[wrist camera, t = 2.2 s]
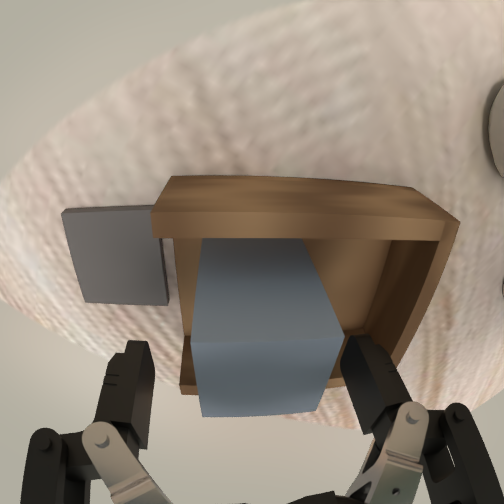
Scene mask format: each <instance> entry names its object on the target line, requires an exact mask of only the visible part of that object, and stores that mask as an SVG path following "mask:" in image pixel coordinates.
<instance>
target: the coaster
mask: <svg viewBox="0 0 504 504" xmlns="http://www.w3.org/2000/svg"><path fill="white" fill-rule="evenodd" d="M153 207H154V205H148V206H118V207H95V208H77V209H65V210H64V211H63V212H62V213H61V216H62V221H63V225H64V229H65V234H66V238H67V242H68V246H69V250H70V254H71V257H72V261H73V265H74V268H75V272H76V275H77V278H78V282H79V285H80V288H81V291H82V294H83V297H84V300H85V302H86V303H104V304H126V305H155V306H168V303H169V294H168V287H167V280H166V272H165V264H164V256H163V247H162V238H153V233H152V225H151V215H150V212H151V210H152V209H153Z"/></svg>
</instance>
